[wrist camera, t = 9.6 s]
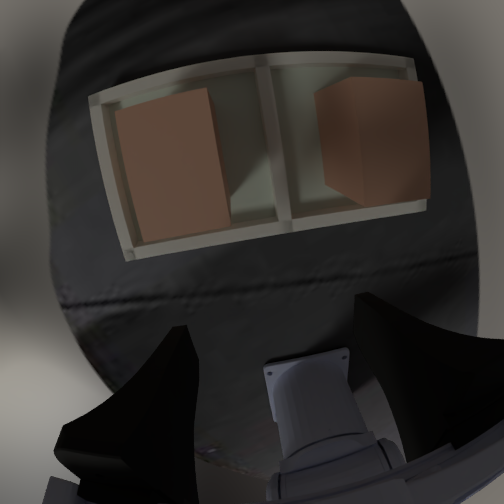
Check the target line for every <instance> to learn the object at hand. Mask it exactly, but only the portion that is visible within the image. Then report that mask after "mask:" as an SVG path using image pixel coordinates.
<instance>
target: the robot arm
mask: <svg viewBox="0 0 504 504" xmlns="http://www.w3.org/2000/svg"><path fill="white" fill-rule="evenodd" d="M353 333H354V335H355V338H356V340H357V343H358V345H359V348H360V350H361V352H362V354H363V355H364V357H365V359H366V361H367V362H368V364H369V366H370V368H371V369H372V371H373V373H374V375H375V376H376V378H377V380H378V382H379V383H380V385H381V387H382V389H383V391H384V393H385V395H386V398H387V400H388V403H389V405H390V408H391V411H392V413H393V416H394V419H395V422H396V425H397V428H398V431H399V434H400V438H401V441H402V445H403V449H404V453H405V457H406V461H407V463H405V461H404V458H403V456H402V454H401V452H400V450H399V449H398V447H397V445H396V444H395V443H394V442H393V441H390V440H387V439H386V438H382V439H379V440H376V438H375V436H374V433H373V431H370V432H368V429H367V427H366V425H365V422H364V420H363V417H362V415H361V413H360V410H359V408H358V406H357V403H356V401H355V399H354V396H353V394H352V392H351V389H350V387H349V385H348V382H347V377H348V366H349V354H350V352H349V349H348V348H346V347H345V348H340V349H336V350H332V351H328V352H323V353H319V354H314V355H310V356H305V357H300V358H295V359H290V360H285V361H280V362H274V363H269V364H266V365H264V367H263V369H264V375H265V380H266V385H267V390H268V395H269V400H270V405H271V410H272V415H273V420H274V421H275V422H277V423H278V428H279V434H280V440H281V446H282V451H283V457H284V460H282V461H279V467H280V472H278V473H274V474H273V475H272V477H271V479H270V480H269V482H268V484H267V488H266V498H267V501H263V502H255V503H243V504H460V503H461V502H463V501H465V500H466V499H468V498H469V497H471V496H472V495H474V494H475V493H477V492H478V491H480V490H481V489H483V488H484V487H485V486H487V485H488V484H489V483H491V482H492V481H493V480H495V479H496V478H497V477H499V476H500V475H501V474H502V473H504V339H490V338H480V337H474V336H468V335H464V334H459V333H456V332H452V331H448V330H445V329H442V328H439V327H437V326H434V325H431V324H429V323H426V322H424V321H422V320H419V319H417V318H415V317H413V316H411V315H409V314H407V313H405V312H403V311H401V310H399V309H398V308H396V307H394V306H392V305H390V304H389V303H387V302H385V301H383V300H382V299H380V298H378V297H376V296H375V295H373V294H371V293H369V292H365V293H361V294H356V295H355V303H354V325H353ZM343 356H344V357H343ZM268 372H270V373H268ZM198 386H199V359H198V356H197V354H196V351H195V348H194V345H193V343H192V340H191V337H190V334H189V331H188V328H187V325H184V326H176V327H172V329H171V330H170V331H169V333H168V334H167V335H166V337H165V338H164V339H163V341H162V342H161V343H160V345H159V346H158V347H157V349H156V350H155V351H154V353H153V354H152V355H151V357H150V358H149V359H148V360H147V361H146V362H145V364H144V365H143V366H142V367H141V368H140V369H139V371H138V372H137V373H136V374H135V375H134V376H133V377H132V378H131V379H130V380H129V381H128V382H127V383H126V384H125V385H124V386H123V387H122V388H121V389H120V390H118V391H117V392H116V393H115V394H113V395H112V396H111V397H110V398H109V399H107V400H106V401H105V402H103V403H102V404H100V405H99V406H97V407H96V408H94V409H93V410H91V411H90V412H88V413H87V414H85V415H83V416H81V417H79V418H77V419H75V420H73V421H71V422H69V423H67V424H65V425H63V427H62V430H61V432H60V435H59V437H58V440H57V443H56V445H55V448H54V454H55V456H56V458H57V459H58V461H59V462H60V463H61V464H63V465H64V466H65V467H66V468H67V469H69V470H70V471H71V472H72V473H73V474H75V475H76V476H77V477H79V478H80V479H81V480H80V484H79V485H78V484H76V483H73V482H71V481H67V480H63V479H60V478H56V477H53V476H51V477H50V479H49V482H48V485H47V489H46V492H45V496H44V499H43V503H42V504H199V500H198V492H197V484H196V473H195V461H194V419H195V411H196V402H197V394H198Z"/></svg>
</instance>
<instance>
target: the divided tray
mask: <svg viewBox="0 0 504 504" xmlns="http://www.w3.org/2000/svg"><path fill="white" fill-rule="evenodd" d="M349 77H373V78H389V79H401V80H411V81H418V80H417V74H416V68H415V63H414V58H408V57H401V56H394V55H385V54H374V53H361V52H340V51H304V52H282V53H269V54H258V55H249V56H241V57H234V58H227V59H221V60H215V61H209V62H204V63H199V64H194V65H189V66H185V67H180V68H176V69H172V70H168V71H164V72H160V73H156V74H153V75H149V76H146V77H142V78H139V79H136V80H133V81H129V82H126V83H123V84H120V85H117V86H115V87H112V88H109V89H106V90H103V91H101V92H98V93H96V94H93V95H90V96H88V100H89V107H90V114H91V120H92V127H93V132H94V138H95V144H96V149H97V154H98V159H99V164H100V168H101V173H102V177H103V181H104V186H105V190H106V194H107V198H108V202H109V206H110V209H111V213H112V217H113V220H114V224H115V227H116V231H117V234H118V238H119V241H120V244H121V247H122V250H123V254H124V257H125V260H126V261H131V260H136V259H142V258H147V257H152V256H158V255H163V254H169V253H174V252H180V251H185V250H191V249H196V248H202V247H208V246H213V245H219V244H225V243H231V242H236V241H242V240H248V239H254V238H259V237H265V236H271V235H277V234H283V233H289V232H295V231H301V230H307V229H313V228H319V227H325V226H331V225H338V224H344V223H350V222H356V221H363V220H369V219H375V218H382V217H388V216H395V215H401V214H408V213H414V212H421V211H426V199H422V200H414V201H406V202H398V203H391V204H383V205H376V206H369V207H364V206H362V205H360V204H358V203H357V202H355V201H353V200H352V199H350V198H348V197H346V196H345V195H343V194H341V193H339V192H337V191H336V190H334V189H332V188H330V187H328V186H327V185H325V179H324V170H323V160H322V151H321V143H320V135H319V128H318V120H317V113H316V107H315V100H314V94H313V93H315V92H318V91H320V90H322V89H324V88H326V87H329V86H331V85H333V84H335V83H338V82H340V81H342V80H345V79H347V78H349ZM206 87H207V89H208V91H209V94H210V96H211V98H212V100H213V102H214V106H215V112H216V118H217V124H218V130H219V135H220V141H221V147H222V153H223V158H224V164H225V170H226V176H227V181H228V187H229V192H230V200H231V226H230V227H224V228H218V229H213V230H207V231H202V232H196V233H191V234H186V235H180V236H175V237H170V238H165V239H160V240H155V241H149V242H144V241H143V238H142V234H141V231H140V227H139V223H138V220H137V216H136V212H135V208H134V204H133V200H132V196H131V192H130V188H129V183H128V179H127V175H126V170H125V165H124V161H123V156H122V151H121V146H120V140H119V135H118V129H117V124H116V118H115V111H117V110H121V109H124V108H127V107H130V106H133V105H136V104H140V103H143V102H147V101H150V100H154V99H158V98H162V97H165V96H169V95H174V94H178V93H182V92H187V91H191V90H196V89H201V88H206Z"/></svg>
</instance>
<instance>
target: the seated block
mask: <svg viewBox="0 0 504 504" xmlns="http://www.w3.org/2000/svg"><path fill="white" fill-rule="evenodd" d="M115 118H116V124H117V129H118V135H119V140H120V146H121V151H122V156H123V161H124V165H125V170H126V175H127V179H128V183H129V188H130V192H131V196H132V200H133V204H134V208H135V212H136V216H137V220H138V223H139V227H140V231H141V234H142V238H143V241H144V242H149V241H155V240H160V239H165V238H170V237H175V236H180V235H186V234H191V233H196V232H202V231H207V230H213V229H218V228H224V227H230V226H231V200H230V192H229V187H228V181H227V176H226V170H225V164H224V158H223V153H222V147H221V141H220V135H219V130H218V124H217V118H216V112H215V106H214V102H213V100H212V98H211V96H210V94H209V91H208V89H207V87H206V88H201V89H196V90H191V91H187V92H182V93H178V94H174V95H169V96H165V97H162V98H158V99H154V100H150V101H147V102H143V103H140V104H136V105H133V106H130V107H127V108H124V109H121V110H117V111H115Z"/></svg>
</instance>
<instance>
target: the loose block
mask: <svg viewBox="0 0 504 504" xmlns="http://www.w3.org/2000/svg"><path fill="white" fill-rule="evenodd" d="M313 94H314V100H315V107H316V113H317V120H318V128H319V135H320V143H321V151H322V160H323V170H324V179H325V185H327V186H328V187H330V188H332V189H334V190H336V191H337V192H339V193H341V194H343V195H345V196H346V197H348V198H350V199H352V200H353V201H355V202H357V203H358V204H360V205H362V206H364V207H369V206H376V205H383V204H391V203H398V202H406V201H414V200H422V199H430V187H431V184H430V149H429V134H428V123H427V113H426V105H425V97H424V90H423V84H422V82H419V81H411V80H401V79H389V78H373V77H349V78H347V79H345V80H342V81H340V82H338V83H335V84H333V85H331V86H329V87H326V88H324V89H322V90H320V91H318V92H315V93H313Z"/></svg>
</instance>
